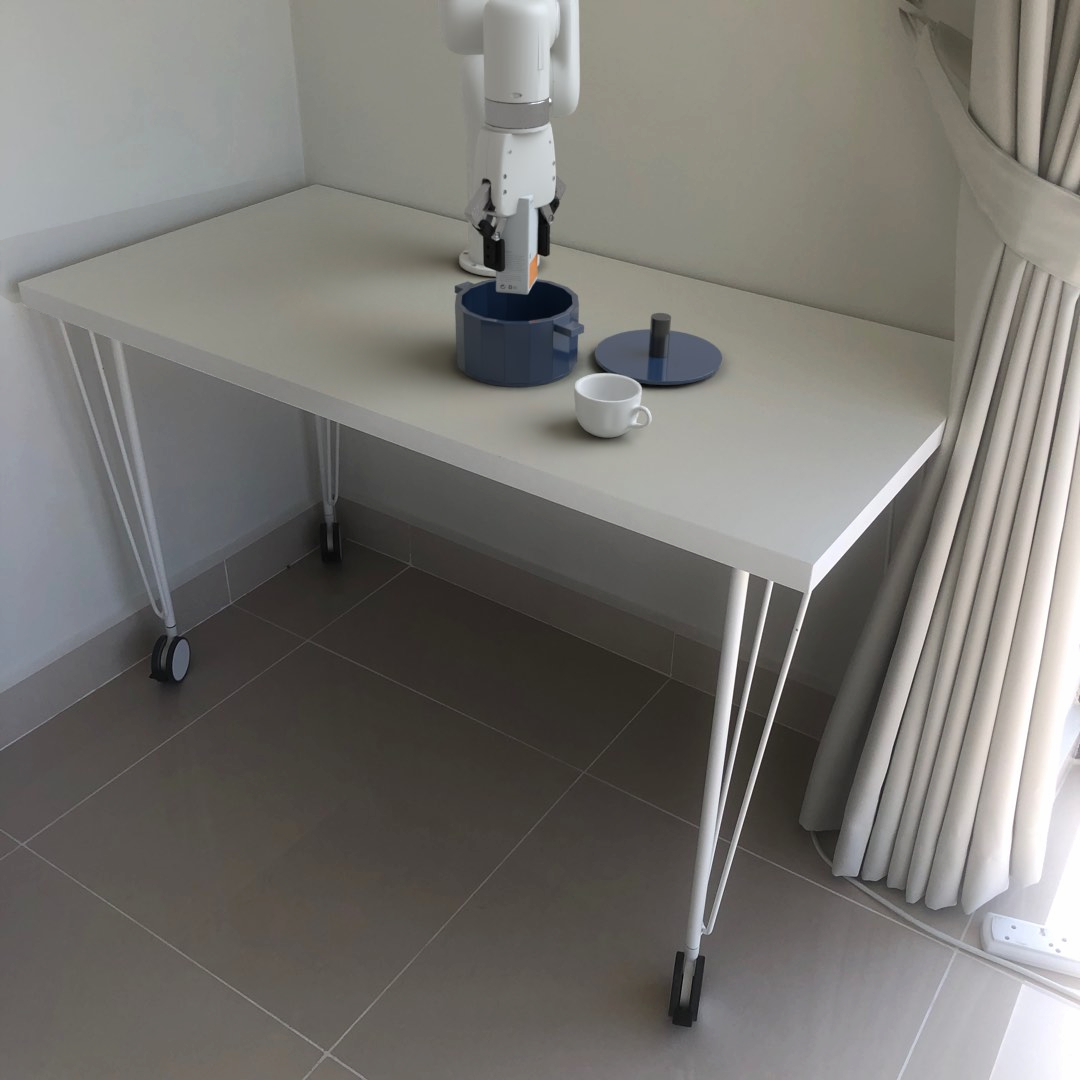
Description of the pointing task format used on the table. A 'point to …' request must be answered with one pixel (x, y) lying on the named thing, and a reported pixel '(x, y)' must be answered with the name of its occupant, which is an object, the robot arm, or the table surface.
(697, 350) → the pot lid
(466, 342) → the pot
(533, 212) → the cosmetic box
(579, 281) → the table surface
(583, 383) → the teacup
